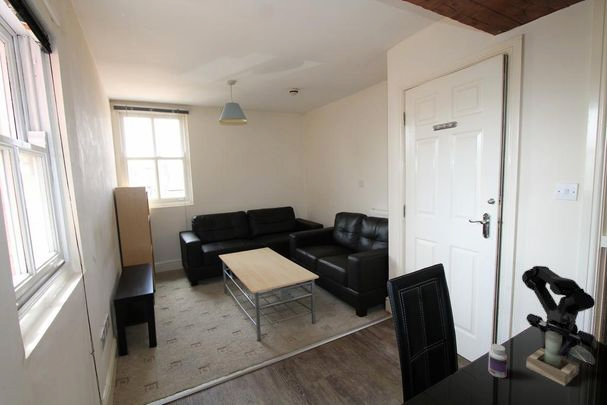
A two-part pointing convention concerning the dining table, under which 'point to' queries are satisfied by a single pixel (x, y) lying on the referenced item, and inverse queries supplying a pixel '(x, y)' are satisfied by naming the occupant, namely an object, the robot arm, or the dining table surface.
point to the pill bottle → (497, 361)
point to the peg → (553, 349)
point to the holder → (560, 376)
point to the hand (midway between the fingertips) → (551, 351)
